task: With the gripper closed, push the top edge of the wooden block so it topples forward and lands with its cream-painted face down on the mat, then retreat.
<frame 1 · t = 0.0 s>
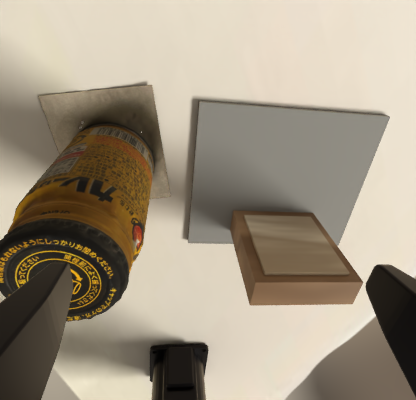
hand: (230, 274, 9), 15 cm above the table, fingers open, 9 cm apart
mat: (278, 183, 24), on the table
condiment: (112, 149, 22), on the table
wooden block: (271, 221, 26), resting on mat
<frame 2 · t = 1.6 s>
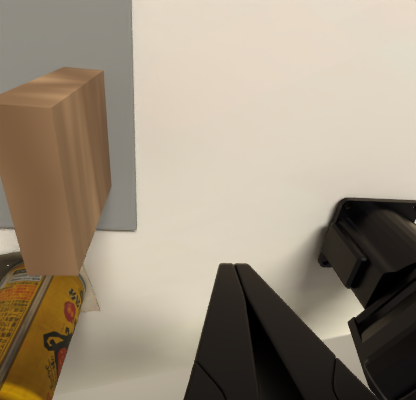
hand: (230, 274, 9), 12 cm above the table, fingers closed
mat: (29, 126, 18), on the table
condiment: (36, 283, 24), on the table
wooden block: (90, 132, 18), resting on mat
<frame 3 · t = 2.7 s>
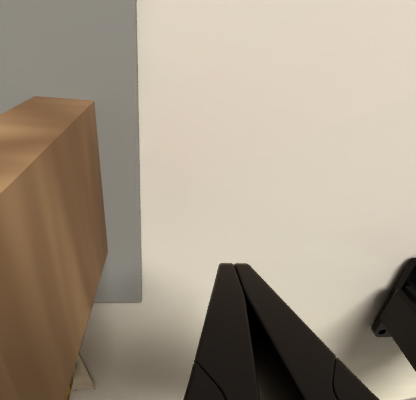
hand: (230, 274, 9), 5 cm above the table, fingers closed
condiment: (13, 360, 19), on the table
wooden block: (76, 185, 12), resting on mat
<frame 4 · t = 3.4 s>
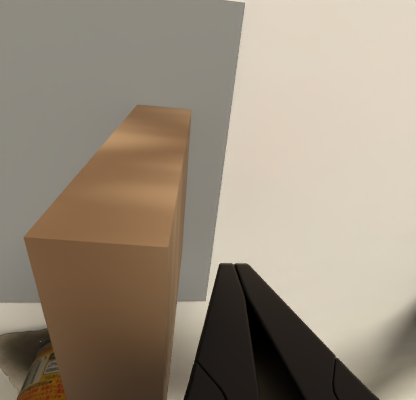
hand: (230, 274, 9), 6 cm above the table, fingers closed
mat: (80, 181, 13), on the table
condiment: (73, 357, 19), on the table
wooden block: (162, 190, 13), resting on mat
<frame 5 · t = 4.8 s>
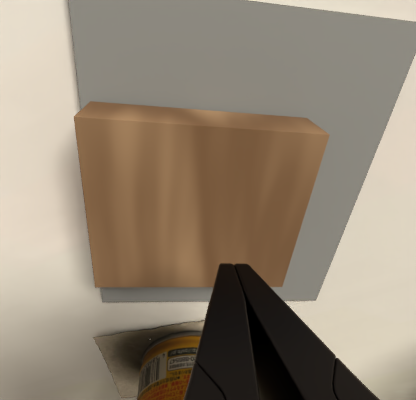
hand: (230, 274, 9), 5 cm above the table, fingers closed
mat: (230, 187, 14), on the table
condiment: (173, 355, 20), on the table
wooden block: (293, 208, 12), point 2 cm above the table, tilted 90°, touching mat
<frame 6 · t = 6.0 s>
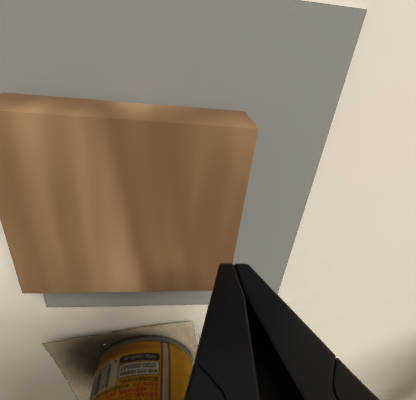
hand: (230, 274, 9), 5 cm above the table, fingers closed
mat: (172, 185, 13), on the table
condiment: (132, 360, 19), on the table
wooden block: (235, 208, 12), point 2 cm above the table, tilted 90°, touching mat
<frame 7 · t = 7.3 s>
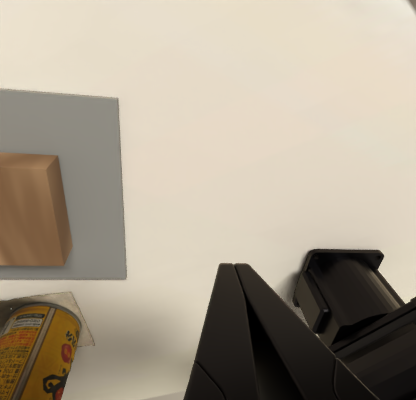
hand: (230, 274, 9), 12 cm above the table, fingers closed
mat: (30, 198, 20), on the table
condiment: (36, 322, 27), on the table
wooden block: (61, 213, 19), point 2 cm above the table, tilted 90°, touching mat
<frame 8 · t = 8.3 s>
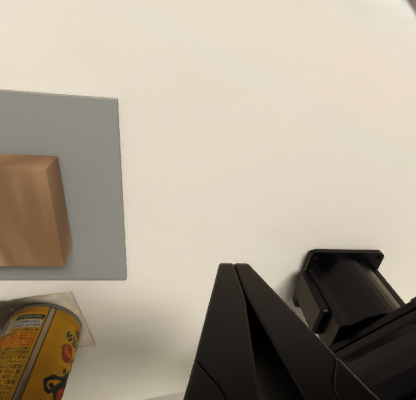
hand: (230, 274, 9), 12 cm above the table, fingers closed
mat: (30, 199, 20), on the table
condiment: (37, 323, 27), on the table
wooden block: (61, 213, 19), point 2 cm above the table, tilted 90°, touching mat
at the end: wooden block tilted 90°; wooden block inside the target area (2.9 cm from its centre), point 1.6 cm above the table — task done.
